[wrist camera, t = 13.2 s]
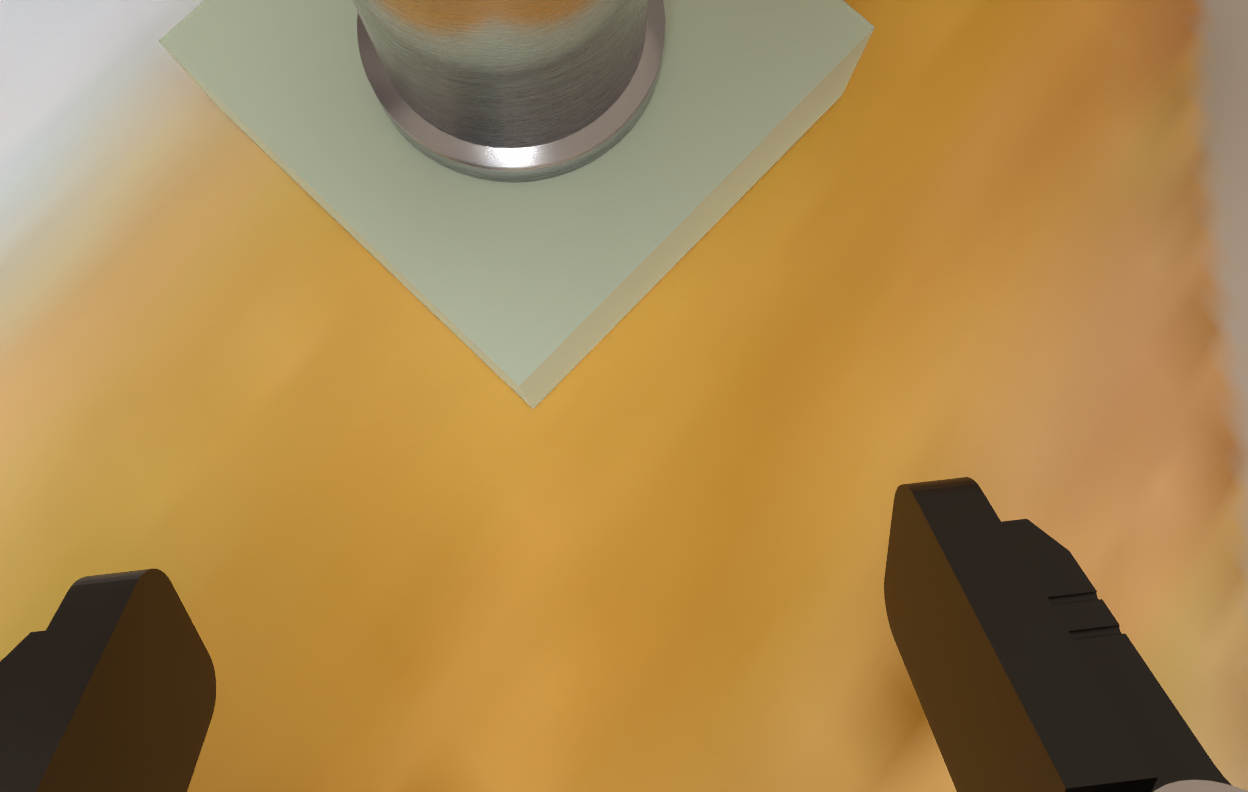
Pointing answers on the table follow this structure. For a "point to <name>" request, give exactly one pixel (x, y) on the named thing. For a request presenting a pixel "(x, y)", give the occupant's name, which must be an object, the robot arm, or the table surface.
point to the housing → (512, 78)
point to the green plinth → (539, 210)
